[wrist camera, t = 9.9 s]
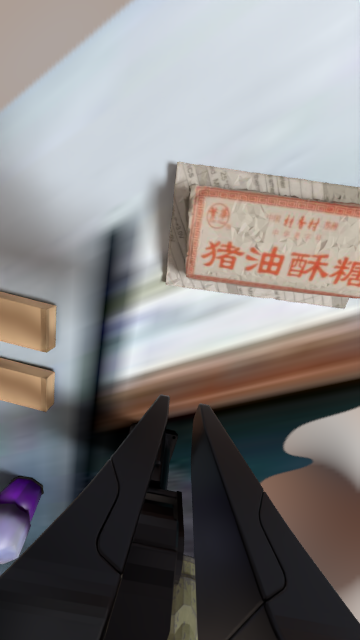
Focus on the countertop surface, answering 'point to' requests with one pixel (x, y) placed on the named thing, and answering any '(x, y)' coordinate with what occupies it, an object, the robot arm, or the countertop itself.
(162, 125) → the countertop surface
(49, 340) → the outer oak plank
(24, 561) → the robot arm
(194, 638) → the olive stone statue
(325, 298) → the packaged product
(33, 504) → the potion bottle
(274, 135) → the countertop surface
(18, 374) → the inner oak plank
